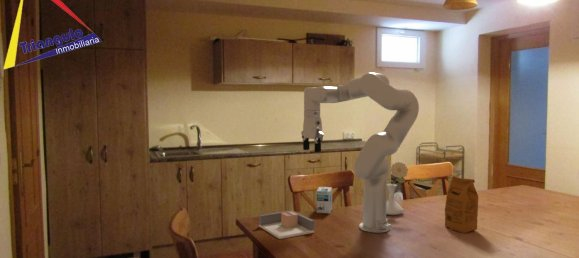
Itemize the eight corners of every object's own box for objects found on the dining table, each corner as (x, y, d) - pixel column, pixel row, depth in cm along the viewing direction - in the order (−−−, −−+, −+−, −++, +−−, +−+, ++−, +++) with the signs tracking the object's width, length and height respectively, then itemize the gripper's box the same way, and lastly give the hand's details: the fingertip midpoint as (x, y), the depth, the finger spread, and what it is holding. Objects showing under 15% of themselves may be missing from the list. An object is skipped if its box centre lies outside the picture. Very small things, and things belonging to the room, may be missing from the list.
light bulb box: (330, 213, 192) (330, 191, 191) (316, 213, 193) (316, 190, 193) (332, 208, 202) (332, 186, 202) (318, 207, 204) (319, 186, 203)
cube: (286, 227, 166) (286, 215, 166) (281, 224, 171) (281, 212, 170) (297, 226, 169) (297, 214, 168) (291, 223, 173) (291, 211, 173)
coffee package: (459, 223, 177) (460, 173, 175) (481, 232, 165) (482, 178, 163) (440, 225, 173) (441, 175, 172) (461, 234, 162) (462, 180, 160)
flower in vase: (377, 215, 189) (377, 162, 188) (381, 209, 200) (381, 159, 198) (405, 218, 184) (406, 164, 183) (408, 212, 195) (409, 160, 193)
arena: (314, 232, 164) (314, 220, 164) (279, 239, 156) (279, 226, 156) (291, 221, 180) (291, 210, 179) (259, 226, 172) (259, 215, 171)
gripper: (329, 114, 181) (329, 152, 182) (308, 113, 196) (308, 148, 197) (315, 114, 177) (315, 153, 178) (295, 113, 192) (295, 149, 193)
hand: (311, 150), depth 188 cm, fingers open, 9 cm apart
